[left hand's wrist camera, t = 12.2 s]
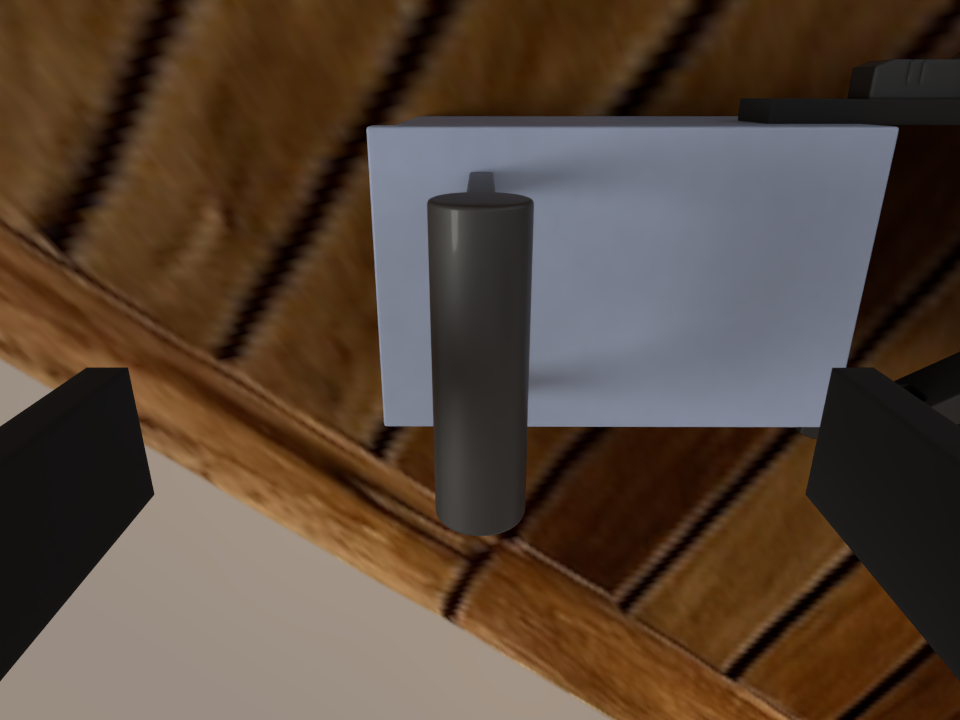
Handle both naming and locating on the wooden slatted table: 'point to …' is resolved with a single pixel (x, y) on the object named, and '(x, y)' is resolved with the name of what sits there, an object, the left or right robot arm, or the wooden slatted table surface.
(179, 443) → the wooden slatted table surface
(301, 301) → the wooden slatted table surface
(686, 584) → the wooden slatted table surface
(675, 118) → the chest
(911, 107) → the right robot arm
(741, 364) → the lid
